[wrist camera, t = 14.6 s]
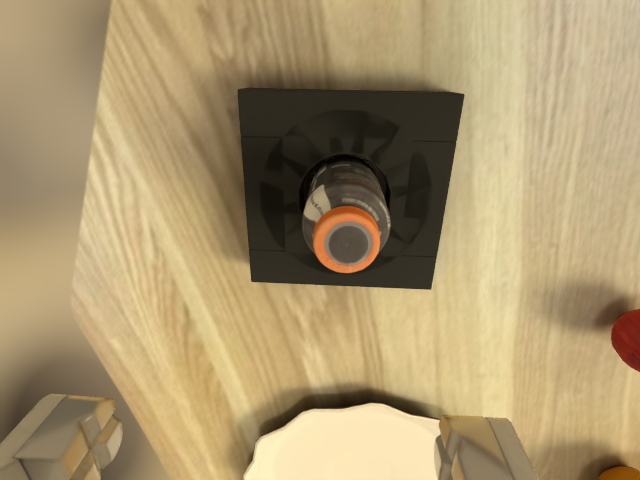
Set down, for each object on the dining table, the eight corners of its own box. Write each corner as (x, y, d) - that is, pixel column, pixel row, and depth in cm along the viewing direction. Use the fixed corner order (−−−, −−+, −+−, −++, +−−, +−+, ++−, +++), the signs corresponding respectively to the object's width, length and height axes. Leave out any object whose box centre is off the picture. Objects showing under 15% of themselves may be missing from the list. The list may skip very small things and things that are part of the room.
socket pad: (247, 87, 28) (237, 89, 26) (452, 92, 28) (464, 94, 25) (258, 266, 35) (251, 282, 32) (424, 272, 34) (431, 289, 32)
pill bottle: (297, 179, 31) (275, 230, 21) (355, 140, 30) (363, 175, 19) (334, 232, 33) (331, 303, 23) (391, 199, 32) (416, 259, 21)
